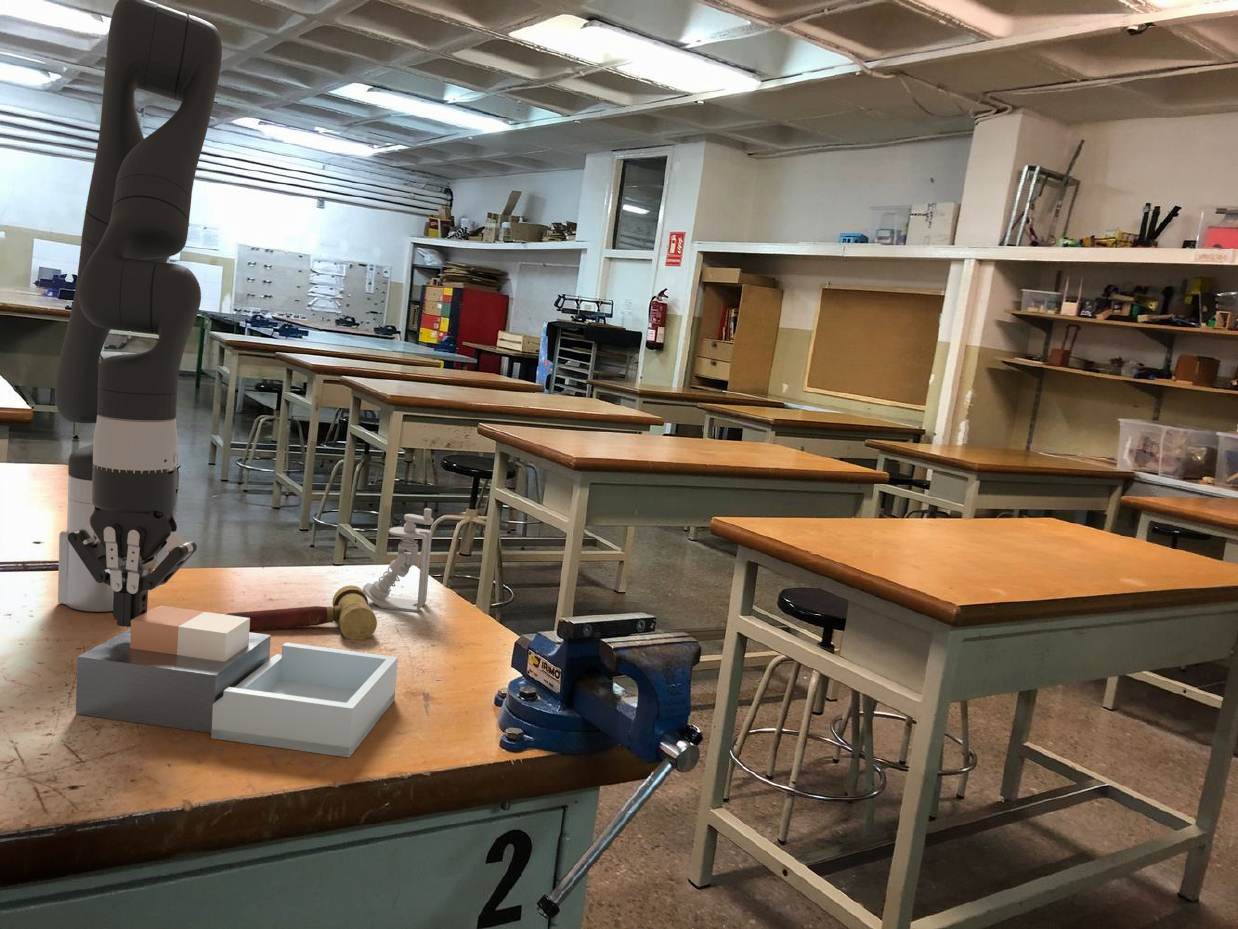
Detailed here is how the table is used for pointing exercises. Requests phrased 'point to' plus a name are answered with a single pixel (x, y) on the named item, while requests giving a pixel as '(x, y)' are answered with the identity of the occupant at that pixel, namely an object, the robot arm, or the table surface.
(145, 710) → the grey metallic box
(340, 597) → the gavel
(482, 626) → the table surface
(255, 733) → the box
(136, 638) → the tile terracotta
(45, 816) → the table surface
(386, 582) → the clamp
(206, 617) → the tile cream
